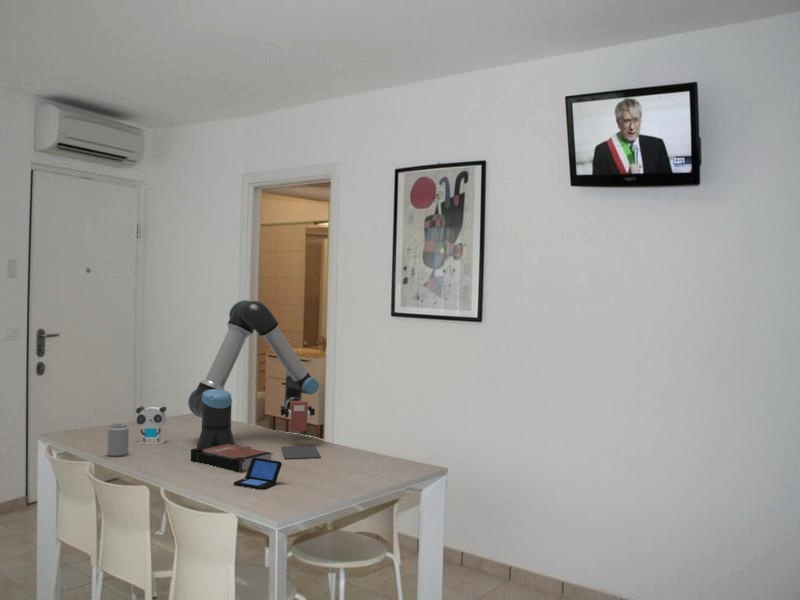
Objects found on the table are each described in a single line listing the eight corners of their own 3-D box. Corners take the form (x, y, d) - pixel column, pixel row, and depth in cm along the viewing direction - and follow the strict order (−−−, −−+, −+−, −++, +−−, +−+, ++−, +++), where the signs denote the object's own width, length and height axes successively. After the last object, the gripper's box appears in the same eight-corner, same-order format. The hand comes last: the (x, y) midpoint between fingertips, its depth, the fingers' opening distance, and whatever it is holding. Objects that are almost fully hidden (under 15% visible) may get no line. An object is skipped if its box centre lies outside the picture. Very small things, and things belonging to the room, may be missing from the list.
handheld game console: (232, 486, 224) (232, 463, 224) (252, 478, 234) (252, 457, 234) (262, 491, 219) (263, 468, 219) (282, 483, 229) (282, 461, 229)
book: (273, 464, 255) (274, 451, 255) (239, 473, 240) (239, 459, 240) (226, 454, 269) (226, 441, 269) (190, 462, 255) (190, 449, 255)
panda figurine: (132, 445, 280) (132, 409, 280) (141, 439, 291) (142, 404, 291) (161, 445, 280) (161, 409, 280) (169, 439, 292) (170, 405, 292)
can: (128, 452, 268) (129, 421, 268) (127, 456, 261) (128, 425, 260) (108, 453, 265) (108, 422, 265) (106, 457, 258) (107, 426, 258)
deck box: (306, 430, 284) (307, 402, 284) (289, 430, 282) (291, 402, 282) (305, 429, 288) (306, 400, 288) (289, 429, 286) (290, 400, 286)
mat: (320, 458, 264) (321, 456, 264) (284, 459, 261) (284, 457, 261) (315, 446, 283) (315, 445, 283) (281, 448, 280) (281, 446, 280)
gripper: (316, 415, 305) (323, 424, 283) (271, 415, 300) (275, 424, 278) (317, 398, 305) (323, 406, 283) (272, 398, 300) (275, 406, 278)
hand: (299, 415), depth 280 cm, fingers closed on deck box, 7 cm apart
